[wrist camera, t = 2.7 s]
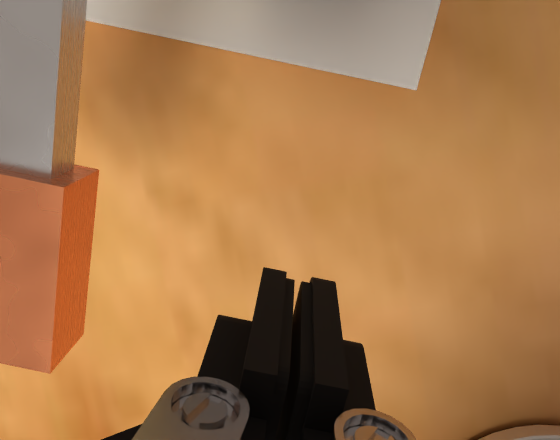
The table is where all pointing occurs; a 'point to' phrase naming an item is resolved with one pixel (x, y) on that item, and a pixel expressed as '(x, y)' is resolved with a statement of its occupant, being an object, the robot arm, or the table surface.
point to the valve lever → (42, 183)
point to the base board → (294, 31)
